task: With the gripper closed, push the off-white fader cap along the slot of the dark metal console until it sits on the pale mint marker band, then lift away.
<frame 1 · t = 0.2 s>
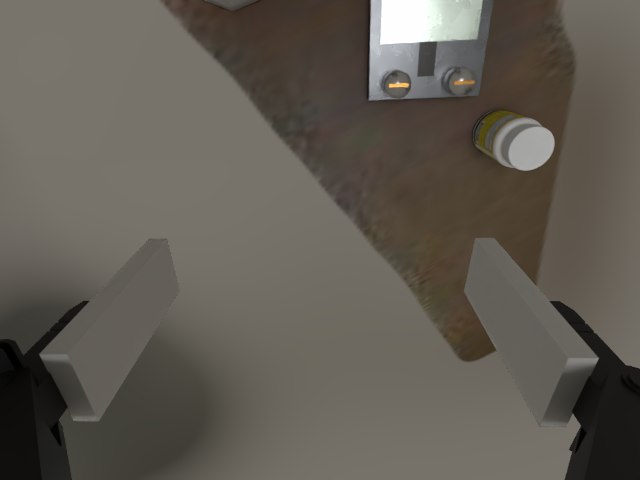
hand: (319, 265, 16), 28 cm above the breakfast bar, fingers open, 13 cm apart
supplement bottle: (492, 131, 40), on the breakfast bar
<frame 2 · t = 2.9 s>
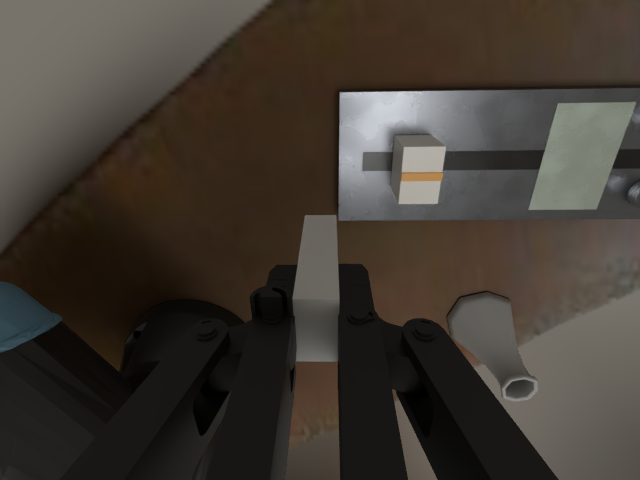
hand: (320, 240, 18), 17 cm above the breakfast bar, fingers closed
console: (495, 154, 32), on the breakfast bar
flask: (477, 315, 41), on the breakfast bar
fader: (415, 169, 28), point 4 cm above the breakfast bar, slide at -8.0 cm
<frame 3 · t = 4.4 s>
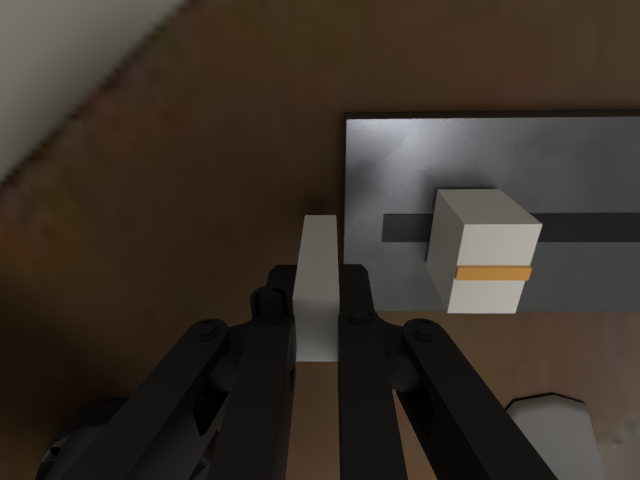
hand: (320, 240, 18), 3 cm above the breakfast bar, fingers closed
console: (590, 212, 20), on the breakfast bar
flask: (536, 419, 29), on the breakfast bar
fader: (475, 249, 17), point 4 cm above the breakfast bar, slide at -8.0 cm
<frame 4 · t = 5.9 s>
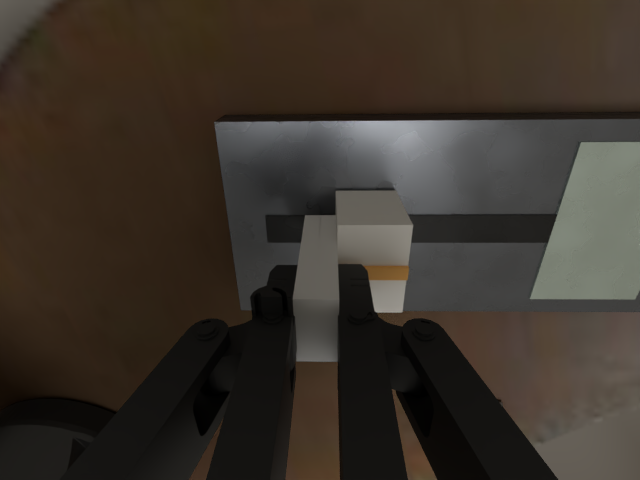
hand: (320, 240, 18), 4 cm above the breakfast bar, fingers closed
console: (479, 213, 21), on the breakfast bar
fader: (367, 249, 17), point 4 cm above the breakfast bar, slide at -6.8 cm, touching gripper
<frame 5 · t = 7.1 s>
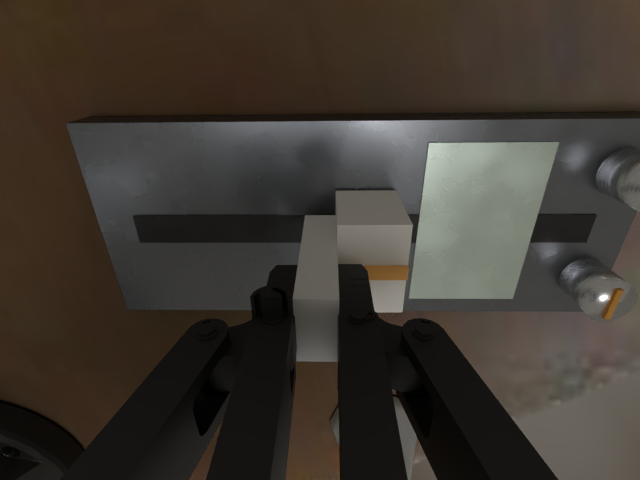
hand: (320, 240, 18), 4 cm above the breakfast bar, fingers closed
console: (357, 213, 21), on the breakfast bar
flask: (373, 417, 30), on the breakfast bar
fader: (367, 249, 17), point 4 cm above the breakfast bar, slide at 0.2 cm, touching gripper
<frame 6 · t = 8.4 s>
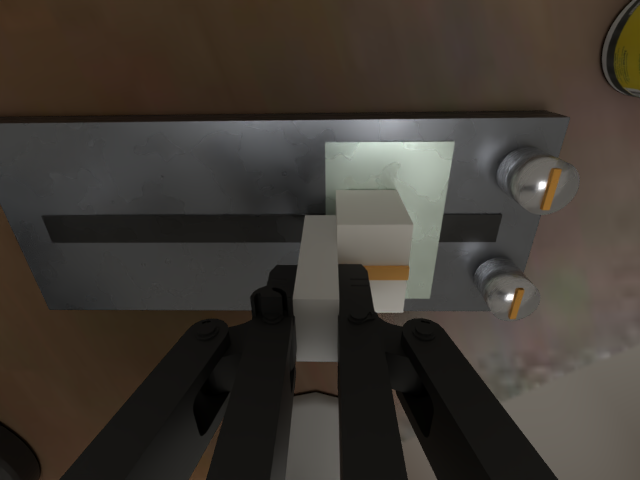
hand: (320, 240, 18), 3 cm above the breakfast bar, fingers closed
console: (274, 213, 21), on the breakfast bar
flask: (315, 417, 30), on the breakfast bar
fader: (368, 249, 17), point 4 cm above the breakfast bar, slide at 5.0 cm, touching gripper
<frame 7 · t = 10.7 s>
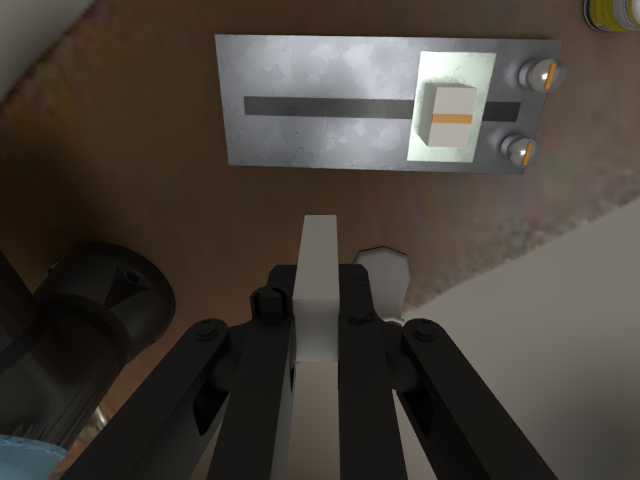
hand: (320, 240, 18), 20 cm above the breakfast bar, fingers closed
console: (377, 105, 33), on the breakfast bar
flask: (379, 271, 42), on the breakfast bar
fader: (445, 114, 29), point 4 cm above the breakfast bar, slide at 5.2 cm
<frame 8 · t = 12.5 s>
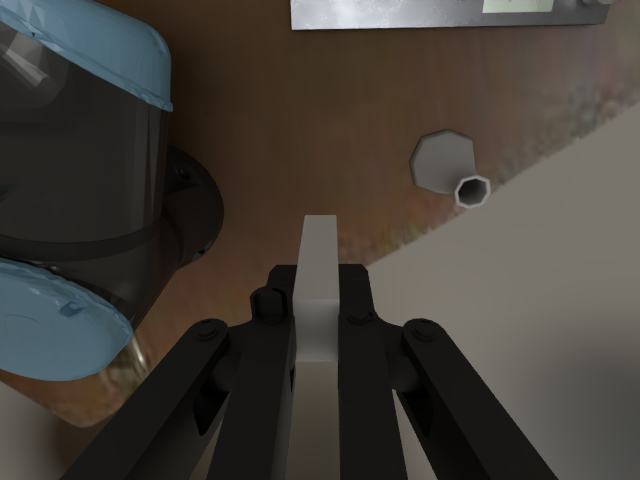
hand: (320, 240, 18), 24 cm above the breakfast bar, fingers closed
flask: (440, 161, 40), on the breakfast bar
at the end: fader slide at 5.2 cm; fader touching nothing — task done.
